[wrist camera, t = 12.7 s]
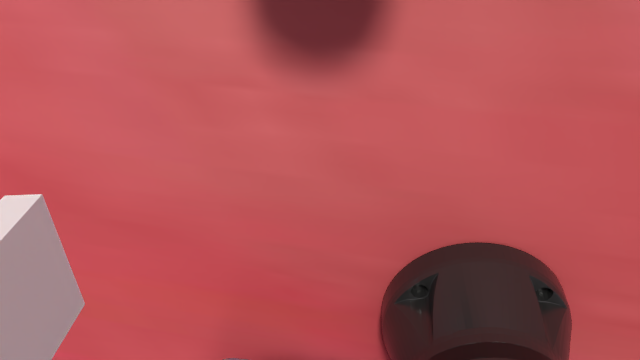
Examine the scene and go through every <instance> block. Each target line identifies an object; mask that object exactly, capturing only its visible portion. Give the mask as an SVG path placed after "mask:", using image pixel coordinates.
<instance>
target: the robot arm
mask: <svg viewBox="0 0 640 360" xmlns="http://www.w3.org/2000/svg"><path fill="white" fill-rule="evenodd" d="M84 305H85V303H84V300H83V297H82V295H81V292H80V290H79V287H78V285H77V282H76V280H75V277H74V274H73V272H72V269H71V267H70V264H69V262H68V259H67V257H66V254H65V251H64V249H63V246H62V244H61V241H60V239H59V236H58V233H57V231H56V228H55V226H54V223H53V221H52V218H51V216H50V213H49V210H48V208H47V205H46V203H45V200H44V198H43V195H42V194H36V195H11V196H4V197H3V198H2V199H1V200H0V360H51V359H52V358H53V356H54V355H55V353H56V351H57V350H58V348H59V346H60V345H61V343H62V341H63V340H64V338H65V336H66V335H67V333H68V331H69V330H70V328H71V326H72V325H73V323H74V321H75V320H76V318H77V316H78V315H79V313H80V311H81V310H82V308H83V306H84ZM571 328H572V320H571V313H570V309H569V305H568V302H567V300H566V297H565V294H564V291H563V289H562V286H561V284H560V282H559V280H558V279H557V277H556V276H555V274H554V273H553V272H552V271H551V270H550V269H549V268H548V267H547V266H546V265H545V264H544V263H542V262H541V261H540V260H538V259H537V258H535V257H533V256H532V255H530V254H528V253H526V252H523V251H521V250H518V249H516V248H512V247H509V246H504V245H499V244H492V243H463V244H456V245H451V246H447V247H443V248H440V249H436V250H434V251H431V252H429V253H427V254H424V255H422V256H421V257H419V258H417V259H415V260H414V261H412V262H411V263H409V264H408V265H407V266H405V267H404V268H403V269H402V270H401V271H400V272H399V273H398V274H397V275H396V276H395V277H394V279H393V280H392V281H391V283H390V285H389V286H388V288H387V290H386V292H385V295H384V298H383V302H382V335H383V340H384V344H385V347H386V349H387V352H388V354H389V356H390V359H391V360H569V351H570V340H571ZM223 360H247V359H239V358H228V359H223Z"/></svg>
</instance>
